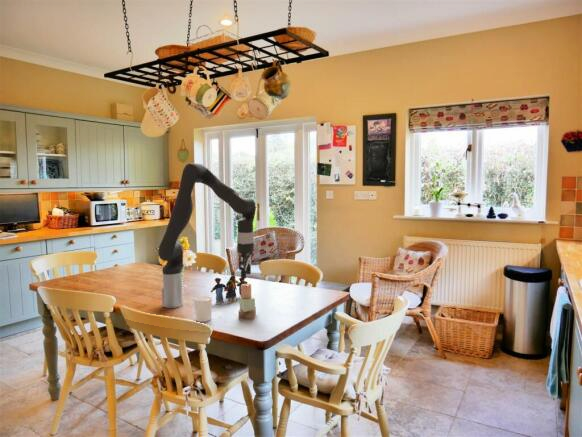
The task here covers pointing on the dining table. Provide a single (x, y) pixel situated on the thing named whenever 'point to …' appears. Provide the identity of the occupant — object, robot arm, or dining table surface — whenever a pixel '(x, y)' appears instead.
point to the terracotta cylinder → (245, 291)
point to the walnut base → (247, 314)
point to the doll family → (227, 289)
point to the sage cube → (247, 304)
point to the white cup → (203, 308)
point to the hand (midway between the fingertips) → (246, 276)
